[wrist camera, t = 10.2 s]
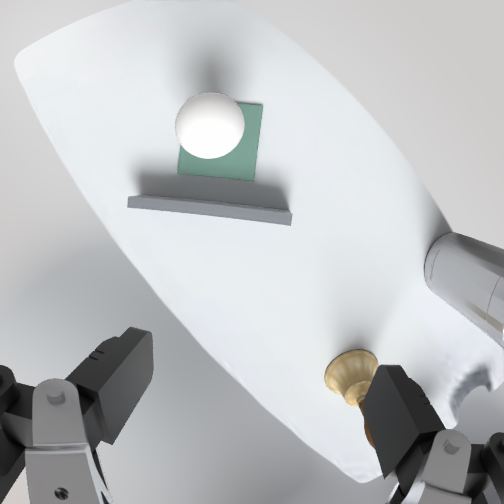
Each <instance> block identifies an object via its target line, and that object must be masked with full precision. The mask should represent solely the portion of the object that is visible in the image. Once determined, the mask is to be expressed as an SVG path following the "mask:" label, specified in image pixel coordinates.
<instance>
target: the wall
mask: <svg viewBox="0 0 504 504" xmlns="http://www.w3.org/2000/svg"><path fill="white" fill-rule="evenodd" d="M128 207H129V208H140V209H151V210H161V211H171V212H181V213H190V214H200V215H209V216H217V217H226V218H234V219H243V220H251V221H259V222H267V223H274V224H282V225H289V226H291V220H292V213H291V212H290V211H288V210H281V209H273V208H265V207H257V206H249V205H241V204H232V203H223V202H214V201H204V200H194V199H184V198H173V197H161V196H149V195H138V196H130V197H128Z"/></svg>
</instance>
